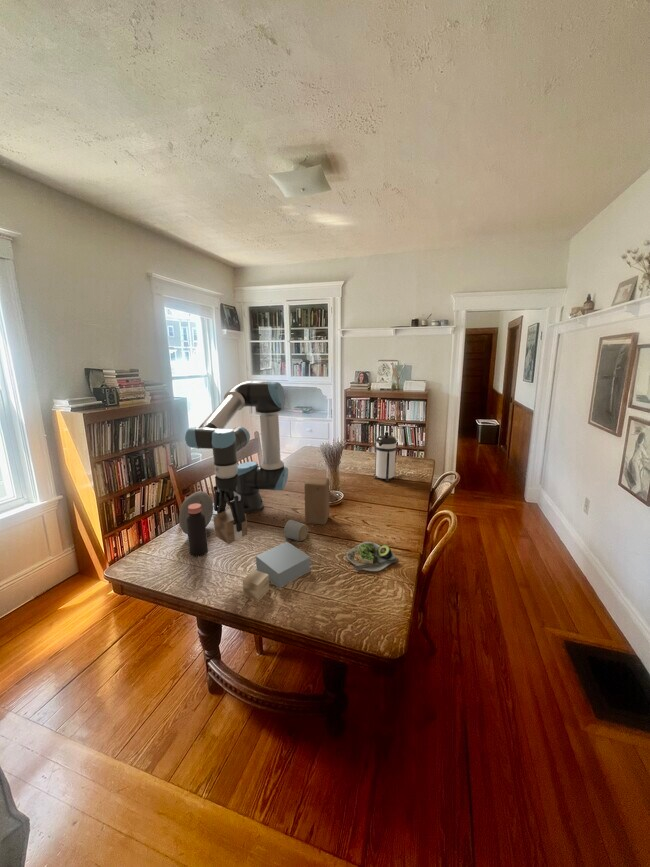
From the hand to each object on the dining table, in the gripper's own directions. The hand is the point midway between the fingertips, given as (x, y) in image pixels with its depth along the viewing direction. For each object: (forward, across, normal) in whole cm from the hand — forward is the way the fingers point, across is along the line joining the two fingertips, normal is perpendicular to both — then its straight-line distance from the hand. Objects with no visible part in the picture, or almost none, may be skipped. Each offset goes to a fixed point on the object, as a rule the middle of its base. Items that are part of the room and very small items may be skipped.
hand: (230, 534), depth 121 cm
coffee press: (+16, -6, +118) cm, 120 cm away
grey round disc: (+15, -34, +6) cm, 37 cm away
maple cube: (+14, +16, -2) cm, 22 cm away
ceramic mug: (+15, +2, +31) cm, 35 cm away
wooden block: (+15, -2, +48) cm, 51 cm away
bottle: (+15, -20, -2) cm, 25 cm away
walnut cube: (0, 0, 0) cm, 0 cm away
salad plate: (+15, +35, +39) cm, 55 cm away
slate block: (+15, +14, +12) cm, 24 cm away
